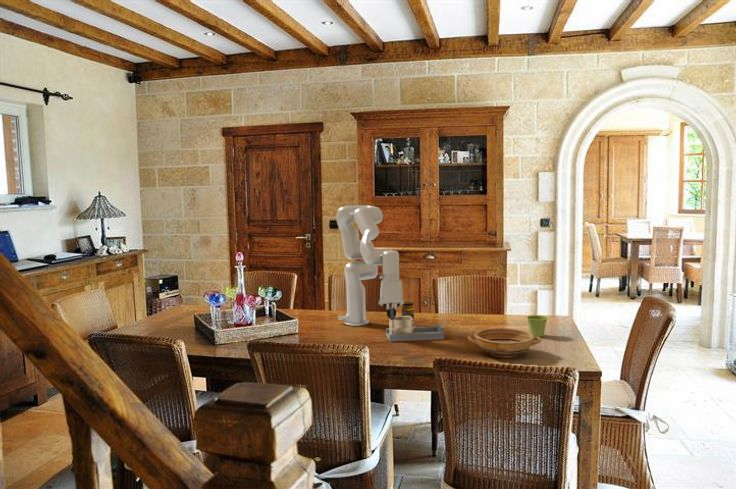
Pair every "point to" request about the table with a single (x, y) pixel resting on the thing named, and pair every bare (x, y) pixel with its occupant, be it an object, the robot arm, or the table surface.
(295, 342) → the table surface
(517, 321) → the table surface
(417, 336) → the bay
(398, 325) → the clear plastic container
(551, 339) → the table surface
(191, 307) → the table surface
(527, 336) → the ceramic bowl
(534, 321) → the plant pot
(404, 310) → the condiment
